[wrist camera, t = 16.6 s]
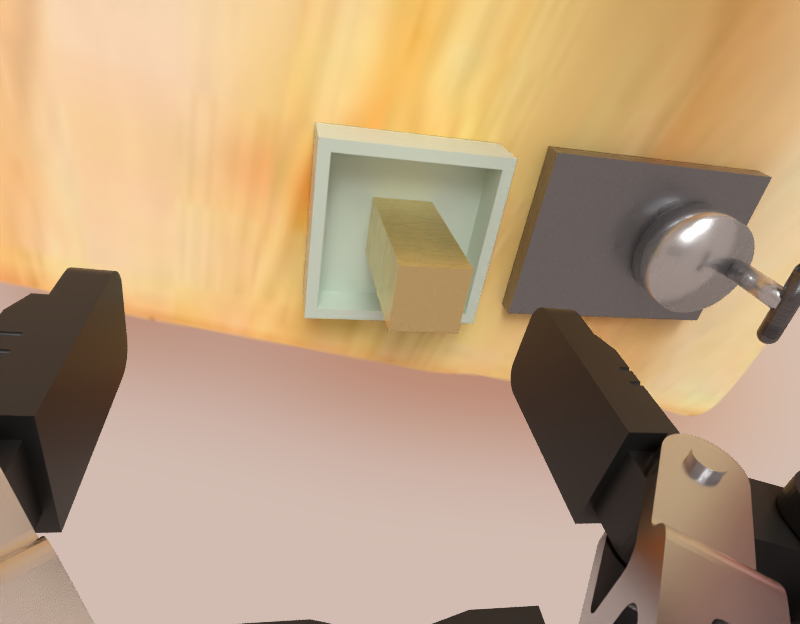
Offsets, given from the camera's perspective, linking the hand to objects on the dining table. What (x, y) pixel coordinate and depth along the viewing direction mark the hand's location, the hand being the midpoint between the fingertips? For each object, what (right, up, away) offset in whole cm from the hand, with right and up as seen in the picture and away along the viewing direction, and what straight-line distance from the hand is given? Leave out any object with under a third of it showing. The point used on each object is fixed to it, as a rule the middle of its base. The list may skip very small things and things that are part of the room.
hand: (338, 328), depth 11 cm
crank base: (+19, +6, +33) cm, 39 cm away
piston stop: (+1, +6, +28) cm, 28 cm away
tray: (+1, +7, +29) cm, 29 cm away
